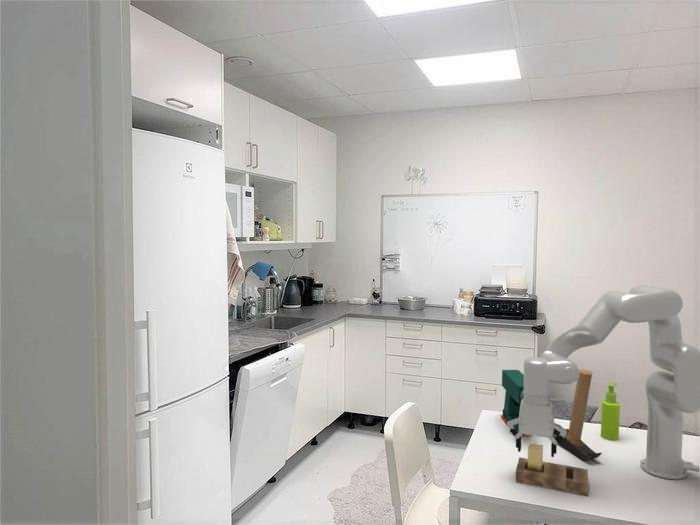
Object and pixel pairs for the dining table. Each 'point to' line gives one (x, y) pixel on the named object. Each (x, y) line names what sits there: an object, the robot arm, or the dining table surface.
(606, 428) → the soap dispenser
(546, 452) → the dining table surface
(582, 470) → the block
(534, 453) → the square bit
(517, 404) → the power tool
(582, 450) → the hammer
